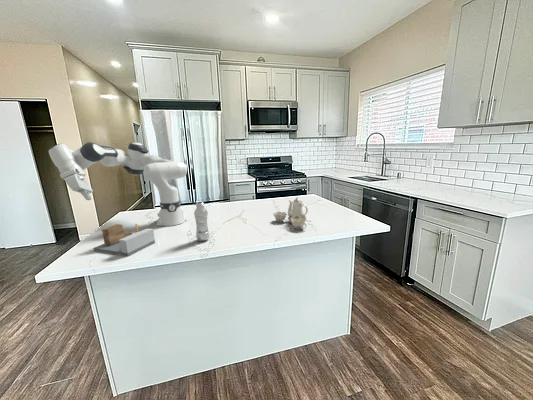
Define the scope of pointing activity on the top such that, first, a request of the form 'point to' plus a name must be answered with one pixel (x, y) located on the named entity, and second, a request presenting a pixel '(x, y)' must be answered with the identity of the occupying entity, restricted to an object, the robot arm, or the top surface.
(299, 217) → the chinaware
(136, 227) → the needle
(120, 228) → the brown wooden block
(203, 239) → the plastic bottle
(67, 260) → the top surface
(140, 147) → the robot arm
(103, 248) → the base
